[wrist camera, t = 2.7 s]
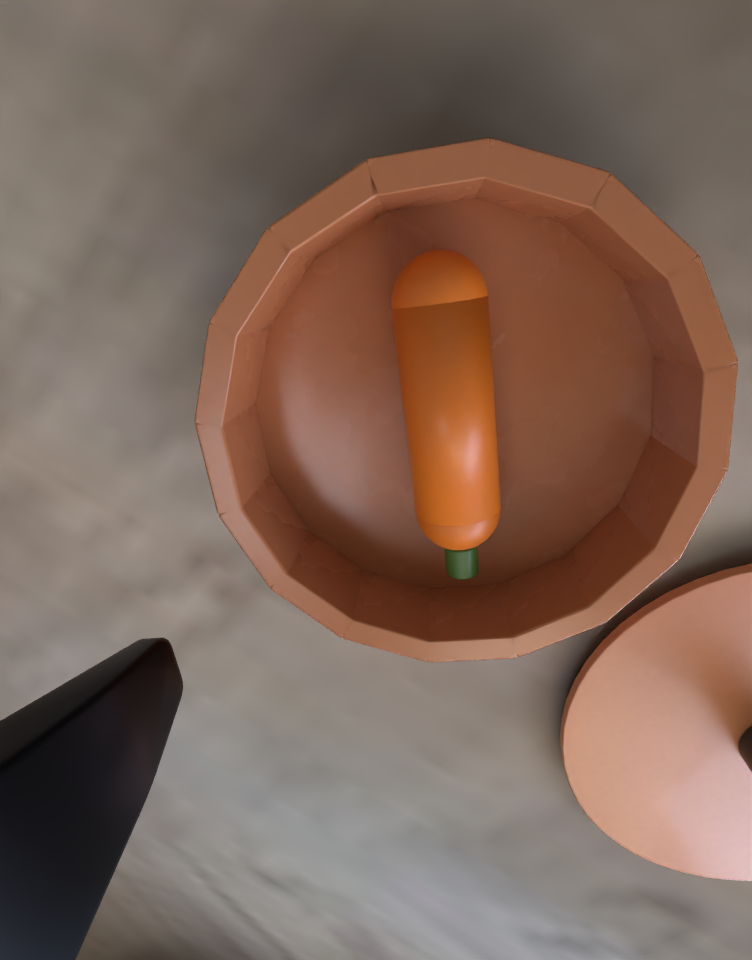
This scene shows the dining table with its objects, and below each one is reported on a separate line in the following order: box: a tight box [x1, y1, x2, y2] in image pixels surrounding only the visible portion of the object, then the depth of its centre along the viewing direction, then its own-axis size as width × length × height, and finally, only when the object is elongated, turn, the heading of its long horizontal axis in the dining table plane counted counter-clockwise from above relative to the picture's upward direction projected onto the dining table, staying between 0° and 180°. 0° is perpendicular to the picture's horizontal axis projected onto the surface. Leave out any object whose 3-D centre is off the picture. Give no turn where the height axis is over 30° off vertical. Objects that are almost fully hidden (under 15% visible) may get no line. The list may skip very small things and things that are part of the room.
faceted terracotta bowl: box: [195, 138, 738, 662], centre depth 18 cm, size 16×16×4 cm
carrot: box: [391, 249, 501, 580], centre depth 18 cm, size 11×3×3 cm, turn 8°
